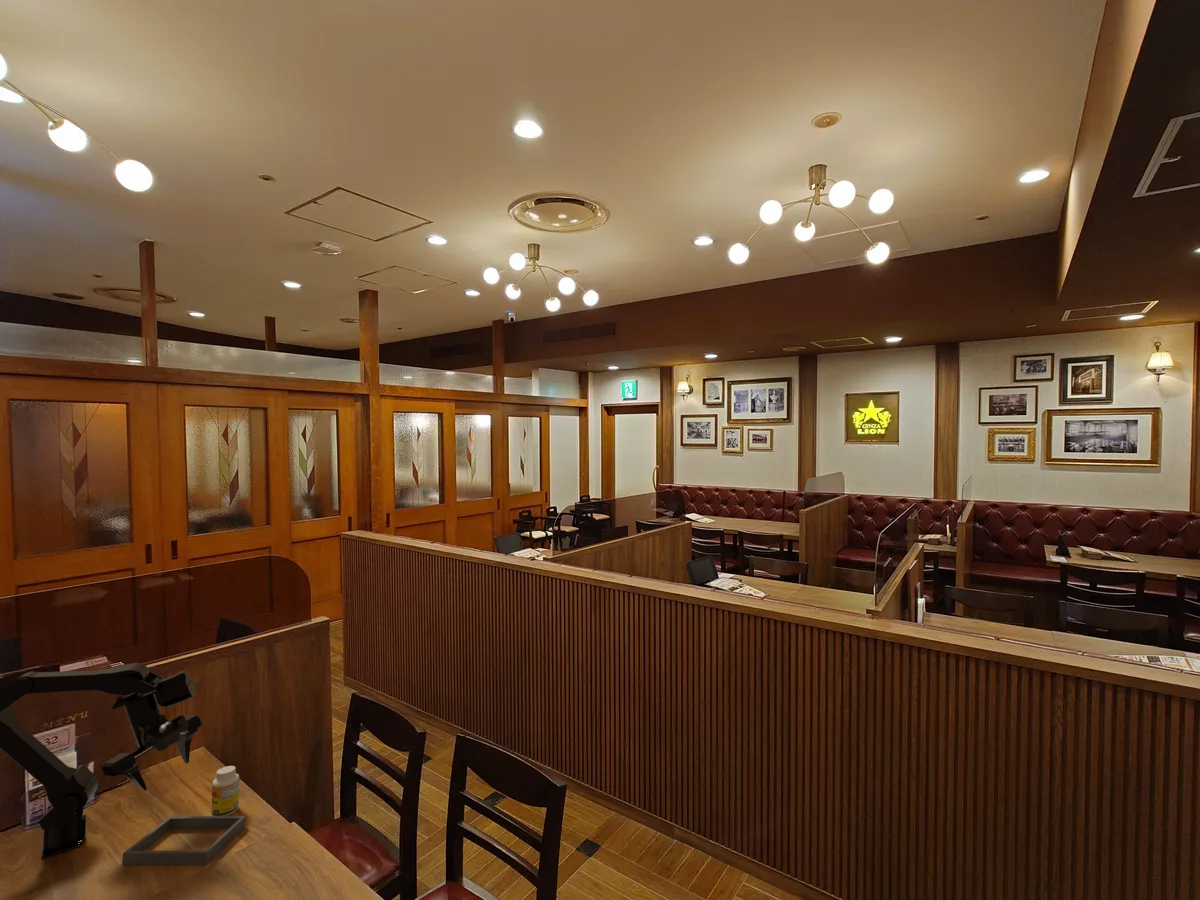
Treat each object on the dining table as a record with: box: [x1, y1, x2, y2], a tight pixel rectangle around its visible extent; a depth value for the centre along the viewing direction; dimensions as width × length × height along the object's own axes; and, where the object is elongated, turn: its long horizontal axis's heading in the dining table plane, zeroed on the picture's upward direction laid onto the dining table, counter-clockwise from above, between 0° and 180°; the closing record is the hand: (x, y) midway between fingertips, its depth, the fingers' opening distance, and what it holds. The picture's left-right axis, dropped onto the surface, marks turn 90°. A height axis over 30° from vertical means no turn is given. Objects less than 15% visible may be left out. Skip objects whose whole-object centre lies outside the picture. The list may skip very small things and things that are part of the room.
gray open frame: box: [121, 815, 247, 867], centre depth 124 cm, size 18×13×2 cm
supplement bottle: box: [211, 765, 240, 816], centre depth 137 cm, size 6×6×10 cm
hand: (166, 776), depth 133 cm, fingers open, 9 cm apart
